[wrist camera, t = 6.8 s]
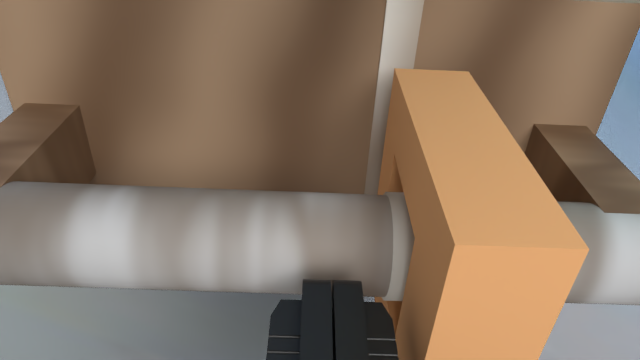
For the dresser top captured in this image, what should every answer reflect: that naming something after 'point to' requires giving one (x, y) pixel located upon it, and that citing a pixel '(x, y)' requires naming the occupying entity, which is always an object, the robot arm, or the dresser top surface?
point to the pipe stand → (285, 136)
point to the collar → (472, 227)
